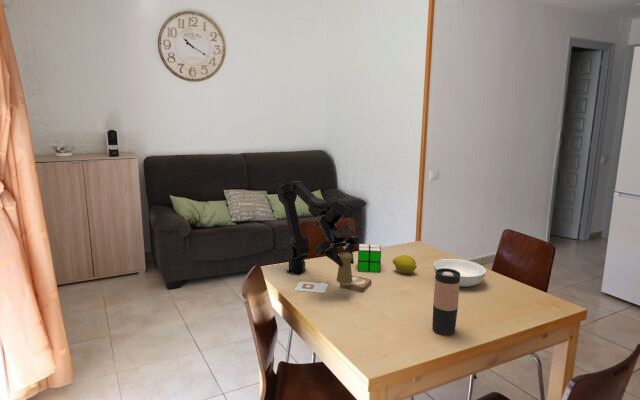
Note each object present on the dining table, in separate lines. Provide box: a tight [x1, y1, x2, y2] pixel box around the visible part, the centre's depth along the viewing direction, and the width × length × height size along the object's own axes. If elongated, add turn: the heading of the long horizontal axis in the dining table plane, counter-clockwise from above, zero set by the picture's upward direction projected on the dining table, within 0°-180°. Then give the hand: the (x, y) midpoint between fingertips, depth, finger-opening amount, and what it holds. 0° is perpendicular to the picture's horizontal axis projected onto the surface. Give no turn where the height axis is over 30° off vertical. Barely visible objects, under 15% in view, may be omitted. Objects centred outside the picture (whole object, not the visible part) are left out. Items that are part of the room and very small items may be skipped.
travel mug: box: [431, 268, 460, 337], centre depth 142 cm, size 8×8×20 cm
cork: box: [336, 251, 353, 284], centre depth 166 cm, size 6×6×11 cm
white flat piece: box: [294, 281, 329, 294], centre depth 177 cm, size 12×9×1 cm
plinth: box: [339, 275, 372, 293], centre depth 180 cm, size 10×10×2 cm
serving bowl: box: [433, 258, 487, 287], centre depth 185 cm, size 21×21×7 cm
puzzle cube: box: [357, 243, 382, 274], centre depth 199 cm, size 10×10×10 cm
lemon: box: [392, 254, 418, 275], centre depth 194 cm, size 11×8×8 cm
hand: (347, 264), depth 165 cm, fingers closed on cork, 5 cm apart
